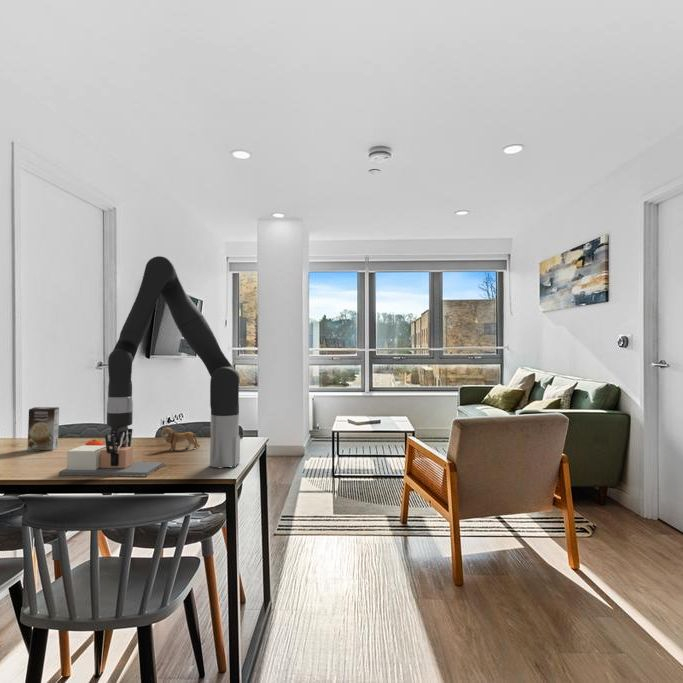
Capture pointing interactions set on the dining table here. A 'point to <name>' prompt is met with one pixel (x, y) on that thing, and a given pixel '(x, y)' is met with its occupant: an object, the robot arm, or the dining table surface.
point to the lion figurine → (178, 437)
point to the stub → (124, 458)
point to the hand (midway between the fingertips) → (118, 463)
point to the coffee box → (43, 428)
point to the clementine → (95, 442)
